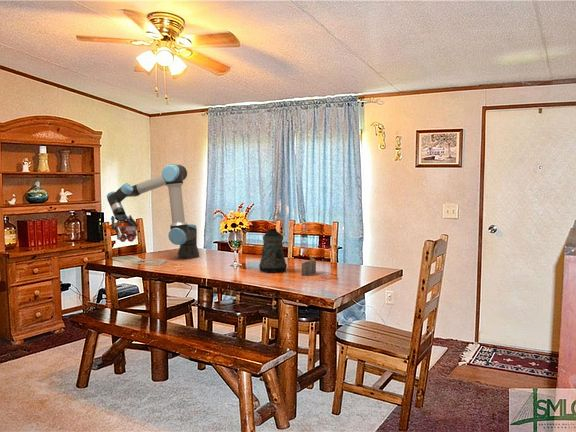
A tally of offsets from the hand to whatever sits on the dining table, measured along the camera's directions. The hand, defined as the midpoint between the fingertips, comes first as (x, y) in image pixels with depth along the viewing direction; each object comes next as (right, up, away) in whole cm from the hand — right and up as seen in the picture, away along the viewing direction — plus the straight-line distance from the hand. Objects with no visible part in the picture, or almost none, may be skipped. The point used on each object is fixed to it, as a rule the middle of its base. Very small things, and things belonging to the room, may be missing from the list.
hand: (128, 235), depth 336 cm
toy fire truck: (-2, -4, +2) cm, 5 cm away
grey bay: (+16, -18, -9) cm, 26 cm away
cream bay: (-3, -17, +4) cm, 17 cm away
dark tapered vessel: (+96, -20, -31) cm, 103 cm away
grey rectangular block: (+118, -21, -43) cm, 127 cm away
